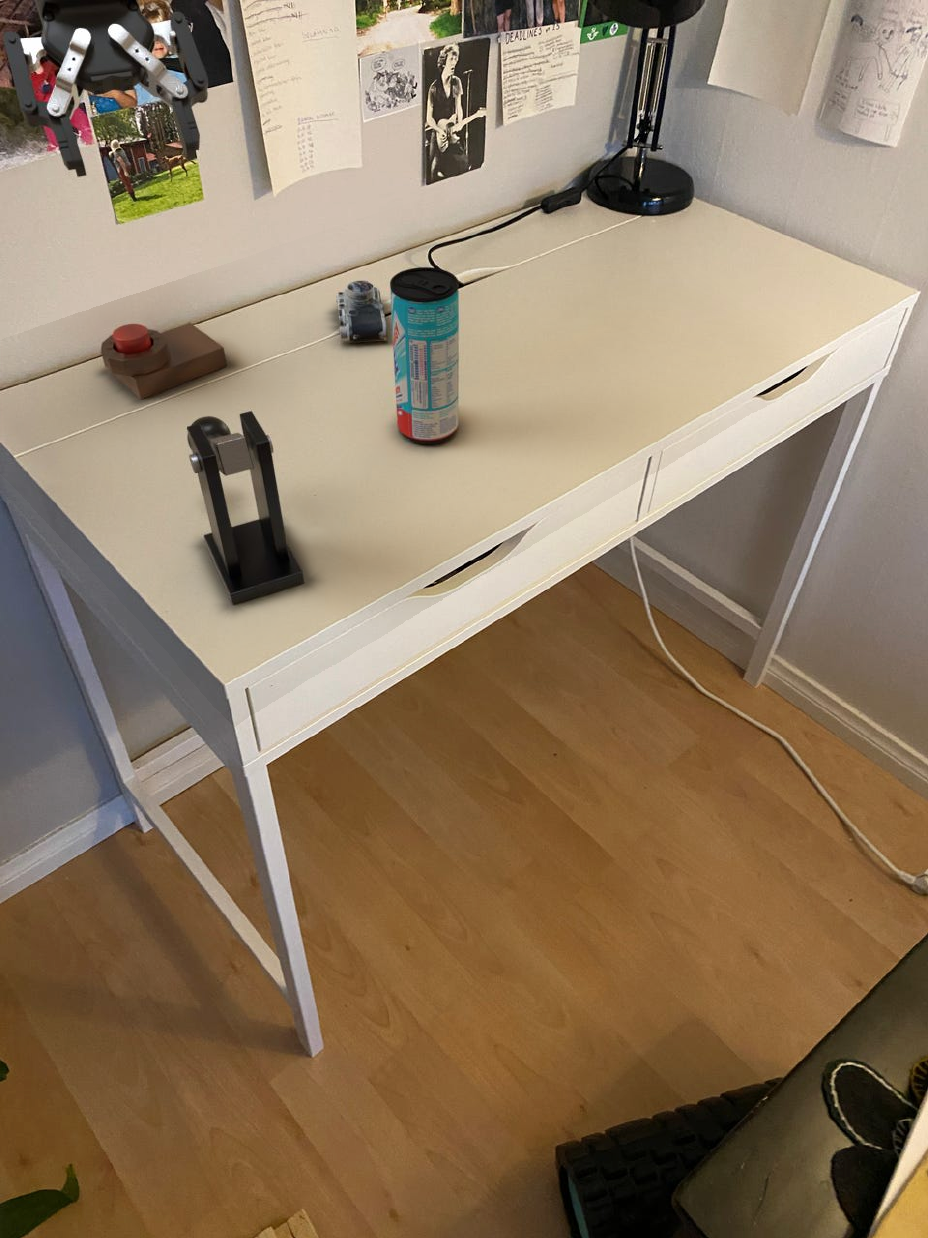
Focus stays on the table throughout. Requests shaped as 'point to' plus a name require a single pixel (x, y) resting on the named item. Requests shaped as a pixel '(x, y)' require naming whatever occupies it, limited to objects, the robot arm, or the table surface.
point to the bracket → (254, 549)
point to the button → (131, 339)
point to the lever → (226, 446)
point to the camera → (361, 313)
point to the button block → (165, 360)
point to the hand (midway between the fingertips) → (137, 163)
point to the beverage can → (426, 353)
